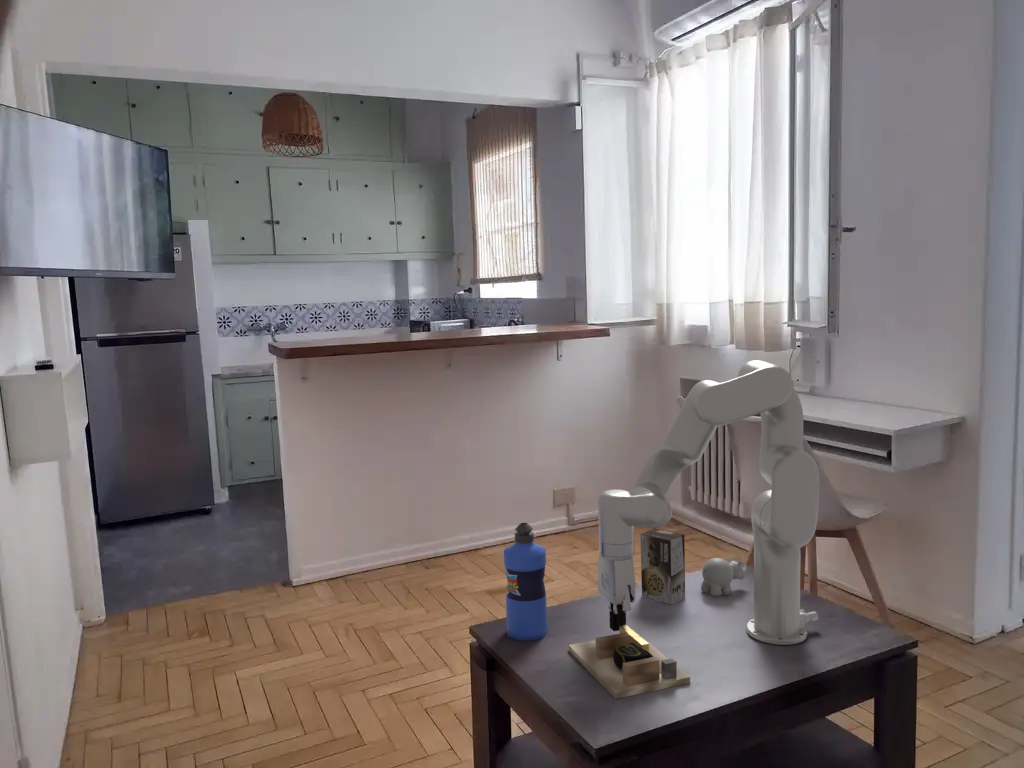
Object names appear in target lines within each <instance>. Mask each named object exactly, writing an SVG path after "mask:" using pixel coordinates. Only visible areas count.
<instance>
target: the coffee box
mask: <svg viewBox="0 0 1024 768" xmlns="http://www.w3.org/2000/svg"><path fill="white" fill-rule="evenodd" d="M639 536H640V569H641V570H640V571H641V573H640V574H641V597H644V598H646V599H647V598H648V599H651V600H654V601H657V602H662V603H665V604H668V605H674V604H676V603H678V602H680V601H682V600H684V599H685V598H686V562H685V561H686V560H685V559H686V558H685V555H686V554H685V550H686V549H685V533H680V532H675V531H670V530H667V529H666V530H665V529H663V528H650V529H648V530H646V531H645V532H642V533H640V535H639Z"/></svg>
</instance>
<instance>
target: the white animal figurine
mask: <svg viewBox="0 0 1024 768" xmlns="http://www.w3.org/2000/svg"><path fill="white" fill-rule="evenodd" d="M743 565H744V566H743ZM743 565H742V561H740V560H739V562H738V561H736V560H735V558H734V557H731V559H730V562H729V561H727V560H726V559H725V558H721V557H712V558H710V559H708V560H707V561H705V563H704V564H703V566H702V571H701V572H702V578H703V581H702V583H701V586H700V590H701V592H704V593H706V594H708V593H710V595H711V596H712V597H720V596H721V595H723V596H729V595H731V593H732V587H731V583H732V582H733V580H739V581H741V580H744V579H745V578H746V576H747V565H746V564H743Z"/></svg>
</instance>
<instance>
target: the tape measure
mask: <svg viewBox="0 0 1024 768" xmlns="http://www.w3.org/2000/svg"><path fill="white" fill-rule="evenodd" d="M651 657H653V656H652V655H651V654H650V653H649V652H647V651H646V650H644V649H642V648H641V647H639V646H637V645H636V644H635V643H629V644H623V645H619V646H618V647H616V648H615V650H614V653H613V661H614V663H615V665H616V666H617V667H618V668H619V669H621V670H623V663H626V662H631V661H636V660H641V659H646V658H651Z"/></svg>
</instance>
